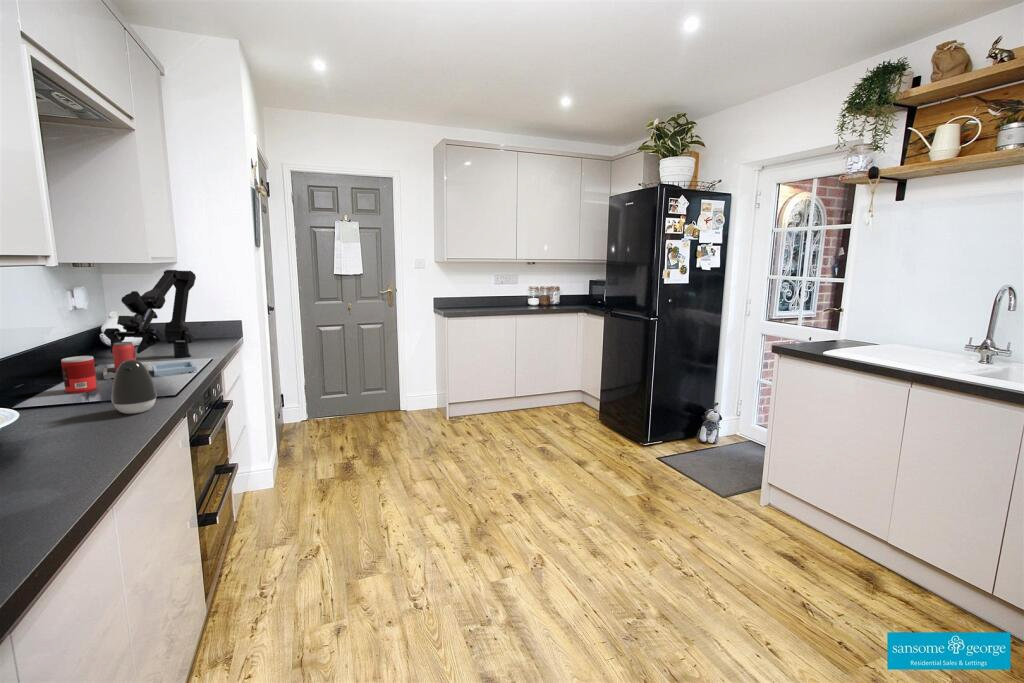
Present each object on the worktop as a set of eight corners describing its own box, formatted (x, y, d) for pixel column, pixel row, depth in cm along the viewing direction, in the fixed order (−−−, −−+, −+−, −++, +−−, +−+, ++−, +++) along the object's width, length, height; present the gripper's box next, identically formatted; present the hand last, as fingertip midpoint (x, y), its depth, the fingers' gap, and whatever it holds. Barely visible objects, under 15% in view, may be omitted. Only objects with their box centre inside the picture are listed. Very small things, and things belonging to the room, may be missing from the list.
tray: (152, 370, 186) (152, 365, 186) (192, 366, 195) (191, 361, 194) (155, 377, 177) (154, 371, 176) (196, 372, 185) (196, 366, 184)
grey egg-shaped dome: (107, 418, 130) (100, 364, 128) (120, 408, 140) (114, 357, 137) (152, 414, 134) (146, 362, 132) (162, 404, 144) (157, 355, 141)
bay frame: (104, 373, 181) (103, 368, 181) (147, 368, 189) (146, 364, 189) (104, 380, 171) (103, 374, 171) (149, 375, 179) (148, 369, 179)
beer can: (113, 377, 176) (109, 345, 174) (118, 373, 182) (114, 342, 180) (135, 375, 179) (131, 343, 177) (139, 371, 185) (135, 341, 183)
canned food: (103, 387, 161) (99, 356, 159) (80, 394, 153) (75, 360, 151) (83, 387, 162) (78, 355, 160) (58, 393, 154) (54, 360, 152)
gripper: (103, 307, 181) (84, 340, 172) (155, 307, 183) (138, 340, 173) (121, 325, 190) (103, 357, 181) (170, 325, 192) (155, 357, 182)
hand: (124, 353), depth 179 cm, fingers open, 9 cm apart
